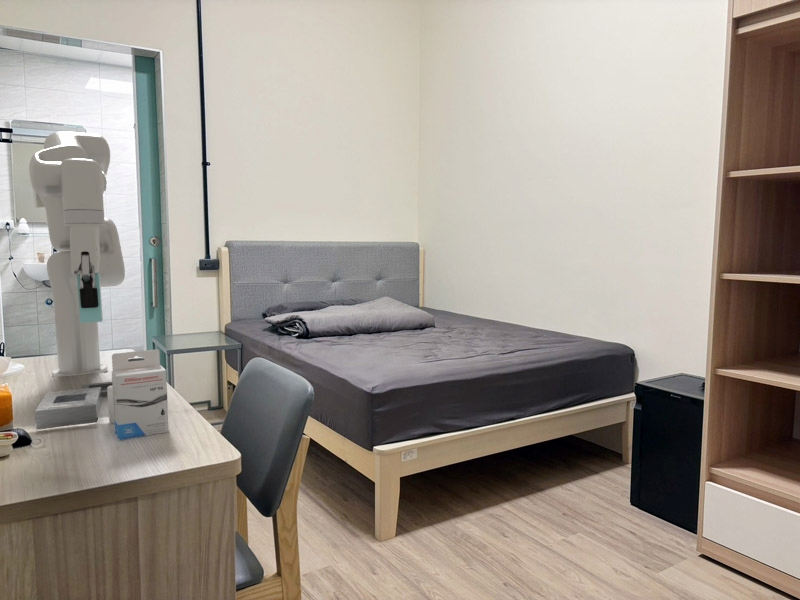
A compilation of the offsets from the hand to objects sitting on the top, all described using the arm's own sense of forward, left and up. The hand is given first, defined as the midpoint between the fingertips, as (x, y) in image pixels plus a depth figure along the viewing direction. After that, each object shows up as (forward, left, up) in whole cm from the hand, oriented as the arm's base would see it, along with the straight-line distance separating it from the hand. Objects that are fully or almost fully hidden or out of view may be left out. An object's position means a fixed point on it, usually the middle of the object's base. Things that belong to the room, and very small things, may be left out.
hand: (90, 305), depth 124 cm
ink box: (+26, +9, -21) cm, 35 cm away
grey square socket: (-4, +1, -21) cm, 21 cm away
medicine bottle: (+18, +8, -21) cm, 29 cm away
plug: (0, 0, -3) cm, 3 cm away
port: (+9, -4, -21) cm, 23 cm away
